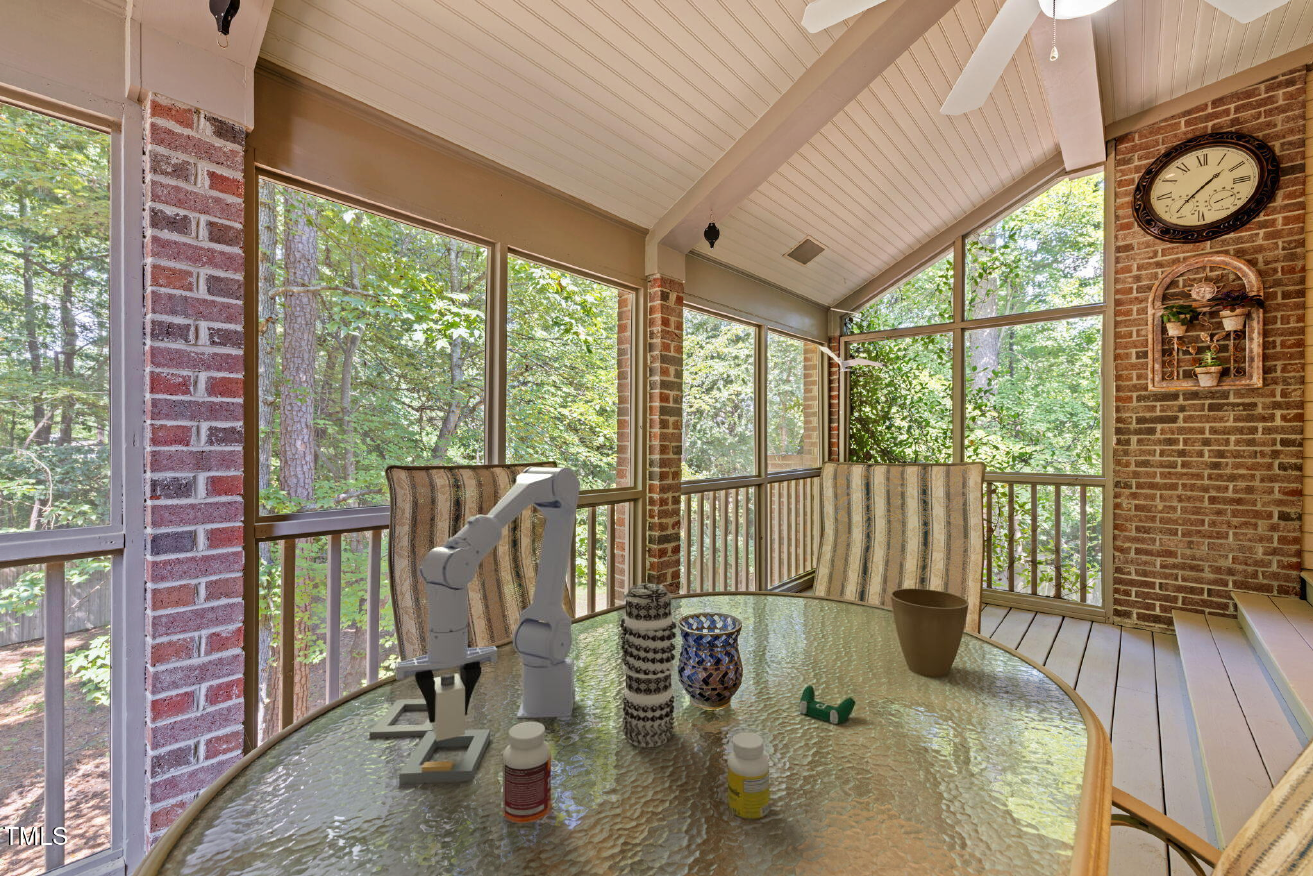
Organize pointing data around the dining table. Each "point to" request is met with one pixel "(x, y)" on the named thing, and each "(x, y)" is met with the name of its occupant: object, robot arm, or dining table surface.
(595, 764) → the dining table surface
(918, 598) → the plant pot
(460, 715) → the plug
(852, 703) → the gaming controller
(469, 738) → the port
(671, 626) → the decorative candle
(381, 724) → the square frame plate
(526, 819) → the pill bottle
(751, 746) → the supplement bottle
